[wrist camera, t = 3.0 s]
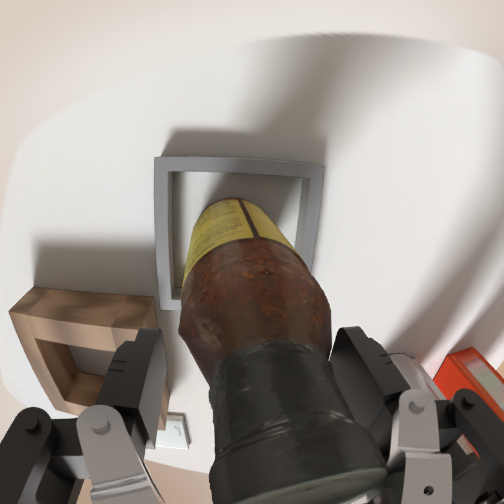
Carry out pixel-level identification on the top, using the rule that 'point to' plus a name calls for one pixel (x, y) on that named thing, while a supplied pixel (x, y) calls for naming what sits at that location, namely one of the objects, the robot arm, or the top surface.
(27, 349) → the holder
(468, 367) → the file binder
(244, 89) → the top surface
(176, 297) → the square frame
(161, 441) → the hard drive
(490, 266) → the top surface
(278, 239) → the sauce bottle
